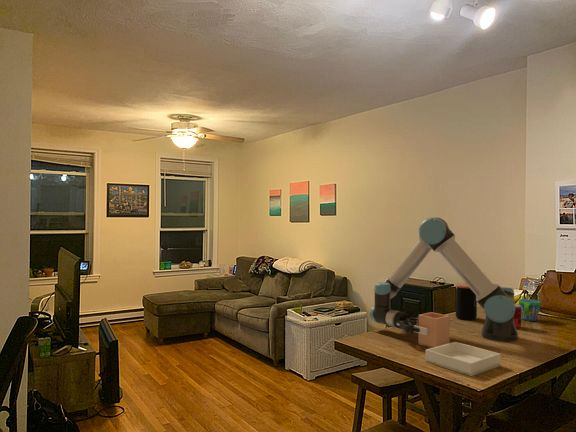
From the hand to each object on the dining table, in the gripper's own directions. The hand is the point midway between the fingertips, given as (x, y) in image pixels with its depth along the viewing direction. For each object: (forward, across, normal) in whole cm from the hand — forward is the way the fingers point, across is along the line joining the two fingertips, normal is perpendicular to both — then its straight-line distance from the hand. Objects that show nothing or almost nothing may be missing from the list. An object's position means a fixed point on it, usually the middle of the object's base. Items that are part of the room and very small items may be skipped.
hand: (437, 329), depth 189 cm
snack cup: (-2, -82, -8) cm, 82 cm away
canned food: (0, -60, -8) cm, 60 cm away
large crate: (+19, +10, -7) cm, 23 cm away
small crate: (-2, 0, -7) cm, 8 cm away
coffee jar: (-23, -57, -8) cm, 62 cm away
